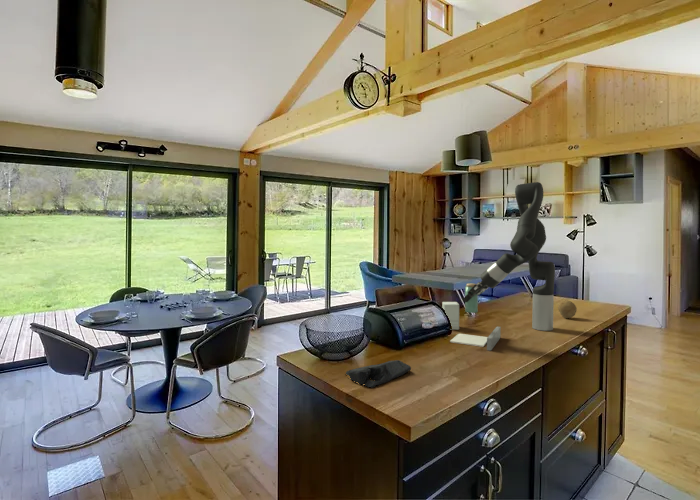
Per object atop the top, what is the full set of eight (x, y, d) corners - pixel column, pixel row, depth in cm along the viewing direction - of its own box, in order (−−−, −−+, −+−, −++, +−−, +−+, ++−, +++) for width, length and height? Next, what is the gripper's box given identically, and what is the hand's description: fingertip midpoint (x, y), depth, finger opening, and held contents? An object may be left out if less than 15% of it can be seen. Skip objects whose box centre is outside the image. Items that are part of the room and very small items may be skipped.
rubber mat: (458, 334, 181) (458, 333, 181) (489, 338, 174) (489, 337, 174) (450, 342, 169) (450, 340, 169) (483, 346, 162) (483, 345, 162)
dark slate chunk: (418, 375, 132) (418, 361, 131) (367, 391, 119) (367, 376, 119) (388, 363, 144) (388, 350, 144) (339, 376, 131) (339, 362, 131)
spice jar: (466, 309, 174) (466, 282, 173) (478, 310, 171) (478, 283, 171) (463, 312, 170) (463, 284, 169) (476, 313, 167) (476, 285, 166)
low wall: (496, 337, 176) (496, 326, 176) (500, 337, 175) (500, 326, 175) (486, 350, 157) (486, 338, 157) (490, 350, 156) (491, 338, 156)
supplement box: (456, 326, 197) (456, 301, 197) (459, 329, 190) (459, 304, 189) (442, 325, 198) (442, 301, 197) (444, 329, 191) (444, 304, 190)
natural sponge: (562, 315, 219) (562, 298, 218) (579, 318, 212) (579, 300, 211) (555, 318, 213) (555, 300, 212) (572, 321, 206) (573, 302, 206)
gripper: (494, 266, 170) (468, 291, 178) (481, 269, 159) (454, 295, 168) (506, 279, 167) (479, 304, 175) (494, 283, 156) (466, 309, 164)
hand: (467, 299), depth 171 cm, fingers closed on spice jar, 5 cm apart
